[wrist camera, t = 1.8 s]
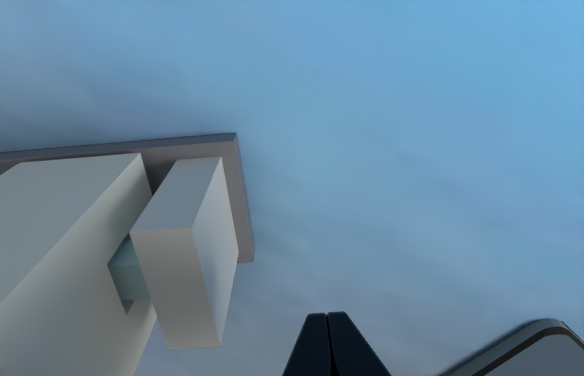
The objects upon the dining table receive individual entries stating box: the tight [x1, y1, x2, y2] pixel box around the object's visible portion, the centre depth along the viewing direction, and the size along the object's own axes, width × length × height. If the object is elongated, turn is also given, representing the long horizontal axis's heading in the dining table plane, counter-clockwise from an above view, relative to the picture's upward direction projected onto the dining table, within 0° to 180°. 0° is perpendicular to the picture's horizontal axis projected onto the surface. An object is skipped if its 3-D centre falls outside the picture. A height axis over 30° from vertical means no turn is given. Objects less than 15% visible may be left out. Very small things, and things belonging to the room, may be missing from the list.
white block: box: [0, 153, 157, 376], centre depth 10 cm, size 5×4×7 cm
